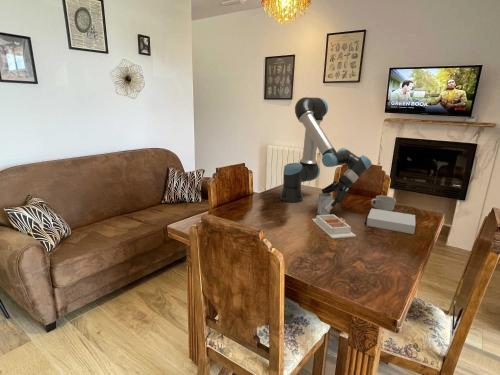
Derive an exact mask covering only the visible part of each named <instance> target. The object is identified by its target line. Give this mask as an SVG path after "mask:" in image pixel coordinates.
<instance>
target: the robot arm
mask: <svg viewBox="0 0 500 375" xmlns="http://www.w3.org/2000/svg"><path fill="white" fill-rule="evenodd" d="M328 110H329V105H328V103H327V101H326V99H324V98H321V97H308V96H306V97H301V98H299V99H298V100H297V102H296V104H295V107H294V113H295V117H296V118H297V120H298V122H300V123H302V125H303V126H304V128H305V130H304V131H305V132H304V140H303V147H302V148H303V149H302V150H303V151H302V158H301V159H300V160H299V162H291V163H290V162H289V163H287V164H285V166H284V167H283V182H282V189H281V192H280V195H279V199H280V200H281V201H282V200H283V202H286V201H287V203H300V202H302V201H304V194H303V191H302V183H304V182H311V181H314V180H316V179H317V178H318V177H319V176H320V173H321V169H320V166H319V164H318V161H317V160H316V158H317V150H318V151H319V152H320V154H321V155H322V157H321V163H322V164H323V166H324V167H327V168H332V167H333V168H334V167H337V166H343V165H345V166H346V167H348V168H347V170H345V172H343V174H341V175H340V177H339V178H338V182H337V181H336V180H334V181H333V182H332V183H331V184H329V185H327V186H326V187H324V188H323V189H321V192H322V193H330V194H331V193H333V192H336V195H335V198H334V199H331V202H330V203H329V205H328V206H327V207H326V208H325V209H326V210H327V211H328V212H329V211H330V212H331V210H332V209H333V208H334V207H335V206H336V205H337V204H342V203H343V201H344V199H345V197H346V195H347V194H348V192H349V191H350V189H349V188H350V187H351V186H352V185H353V183H355V182H356V181H357V180H358V179H359V178H360V177H361V176H362V175H364V174H365V172H366V171H367V170H368V169H369V168H370V167H371V166H372V164H373V163H372V160H371V159H370V158H369V157H367V156H366V155H362V154H361V156H357V155H356V154H354V153H353V152H352V151H350V150H349V149H347V148H345V147H342V148H340V149H338V150H337V151H336V149H335V147H334V145H333V144H332V143H331V141H330V140H329V138H328V137H327V135H326V133H325V132H324V130H323V129H322V127H321V123H322V122H323V119H324V116H326V115H327V113H328ZM314 201H315V203H316V204H318V202H319V196H318V197H316V199H314Z"/></svg>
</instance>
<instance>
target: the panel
mask: <svg viewBox="0 0 500 375" xmlns="http://www.w3.org/2000/svg"><path fill="white" fill-rule="evenodd" d="M318 197H319V202H318V203H317V215H331V214H330V213H331V210H330V211H329V212H328V211H327V210H326V209H325V208H326V207H327V206H328V205H329V203H330V202H331V201H332V194H331V193H319V194H318Z"/></svg>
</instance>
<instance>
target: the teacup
mask: <svg viewBox="0 0 500 375" xmlns="http://www.w3.org/2000/svg"><path fill="white" fill-rule="evenodd" d="M374 201H375V202H374ZM396 201H397V200H396V198H395V197H392V196H388V195H381V194H380V195H376V196H375V198H372V199H371V200H370V204H371V206H372V207H374V209H379V210H385V211H392V212H393V211H394V209H395V206H396V205H395V204H396Z"/></svg>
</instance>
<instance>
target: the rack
mask: <svg viewBox="0 0 500 375" xmlns="http://www.w3.org/2000/svg"><path fill="white" fill-rule="evenodd" d="M315 216H316V217H315V218H311V220H313V221H312V222H314V224H316V225H317V227H319V228H320V229H321V230H322V231H323V232H324V233H326V234H327V236H328V237H330V238H331V239H334V240H335V239H345V238H346V239H347V238H356V237H357V235H356V234H355V233H354V232H352V231H351V230H352V226H350V225H349V224H348V223H347V220H345V218H342V217H339V216H336V215H335V214H333V213H332V214H330V215H319V214H317V215H315Z"/></svg>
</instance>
